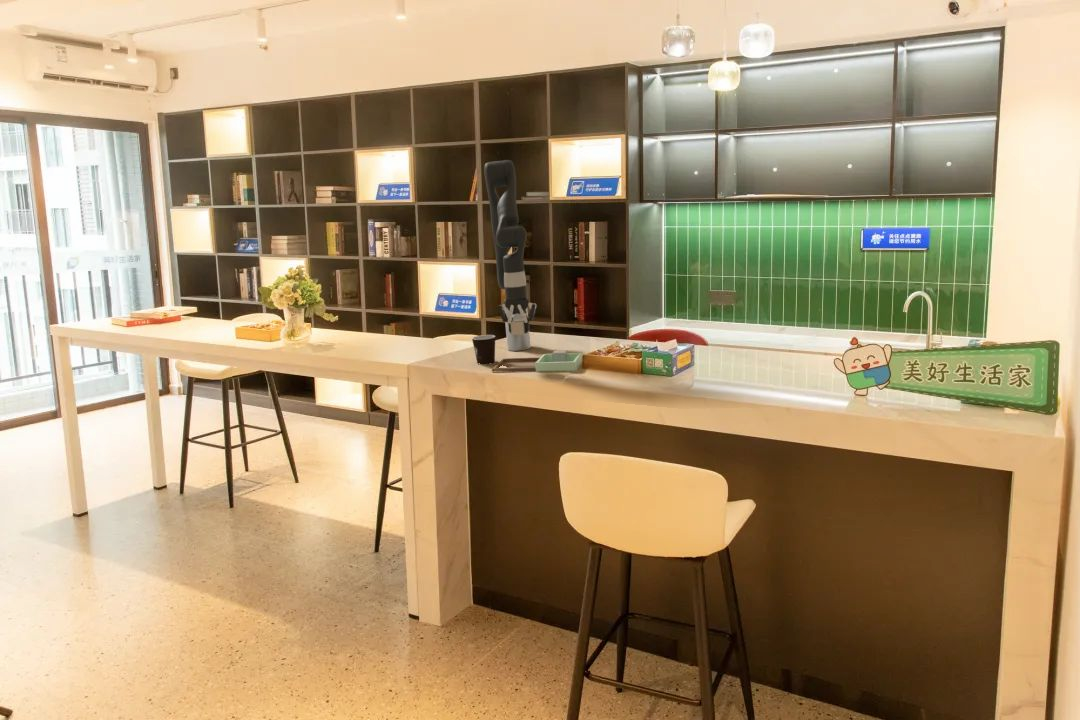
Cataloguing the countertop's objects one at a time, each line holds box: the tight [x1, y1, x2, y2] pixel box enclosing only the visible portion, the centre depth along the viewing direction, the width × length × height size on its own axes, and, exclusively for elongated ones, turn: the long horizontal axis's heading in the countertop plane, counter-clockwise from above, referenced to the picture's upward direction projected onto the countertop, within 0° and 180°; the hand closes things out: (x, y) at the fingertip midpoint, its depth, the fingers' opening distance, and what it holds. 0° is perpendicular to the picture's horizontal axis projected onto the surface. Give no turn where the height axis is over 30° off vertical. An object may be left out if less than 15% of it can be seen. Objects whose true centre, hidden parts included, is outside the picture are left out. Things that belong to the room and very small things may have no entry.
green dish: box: [535, 352, 583, 373], centre depth 291 cm, size 14×14×4 cm
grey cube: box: [551, 349, 568, 362], centre depth 294 cm, size 4×4×4 cm
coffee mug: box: [471, 334, 496, 365], centre depth 308 cm, size 12×9×10 cm
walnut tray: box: [491, 356, 541, 373], centre depth 297 cm, size 16×16×2 cm
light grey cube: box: [511, 320, 525, 335], centre depth 289 cm, size 4×4×4 cm
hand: (519, 333), depth 289 cm, fingers closed on light grey cube, 4 cm apart
